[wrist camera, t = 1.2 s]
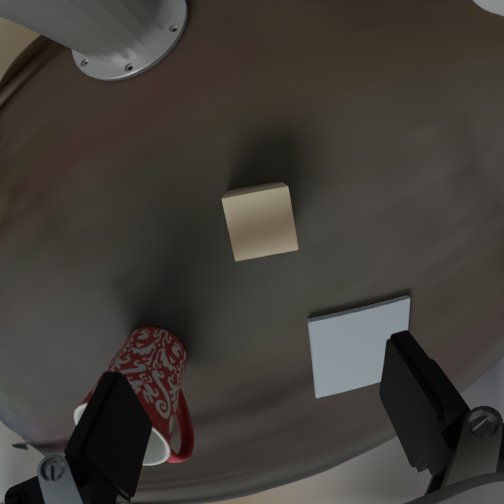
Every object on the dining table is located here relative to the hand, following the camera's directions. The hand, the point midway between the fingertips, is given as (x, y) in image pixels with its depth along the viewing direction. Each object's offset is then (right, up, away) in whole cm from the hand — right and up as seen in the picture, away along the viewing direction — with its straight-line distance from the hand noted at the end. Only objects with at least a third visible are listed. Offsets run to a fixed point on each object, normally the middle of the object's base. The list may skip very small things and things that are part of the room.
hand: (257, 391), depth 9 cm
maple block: (0, +8, +18) cm, 20 cm away
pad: (+13, -7, +23) cm, 27 cm away
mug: (-10, -8, +23) cm, 27 cm away
